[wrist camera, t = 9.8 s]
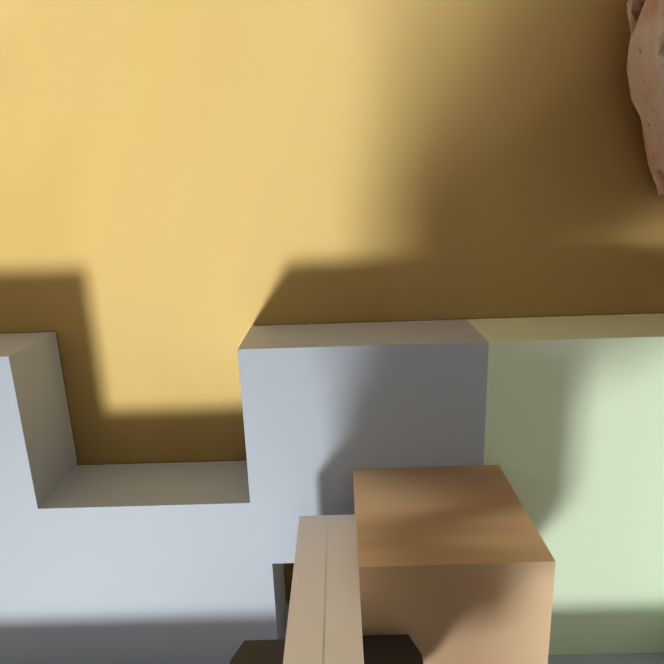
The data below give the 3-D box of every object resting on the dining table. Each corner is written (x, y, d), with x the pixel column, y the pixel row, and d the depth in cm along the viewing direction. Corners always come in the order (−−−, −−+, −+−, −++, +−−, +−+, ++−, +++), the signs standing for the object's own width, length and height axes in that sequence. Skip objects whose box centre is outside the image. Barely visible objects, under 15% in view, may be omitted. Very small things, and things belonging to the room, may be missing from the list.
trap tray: (-76, 634, 20) (-209, 780, 15) (-156, 338, 17) (-354, 399, 12) (655, 616, 19) (763, 759, 14) (698, 312, 16) (851, 363, 12)
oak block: (498, 464, 15) (555, 561, 11) (493, 588, 16) (543, 716, 12) (353, 469, 15) (359, 566, 11) (356, 592, 16) (364, 720, 12)
